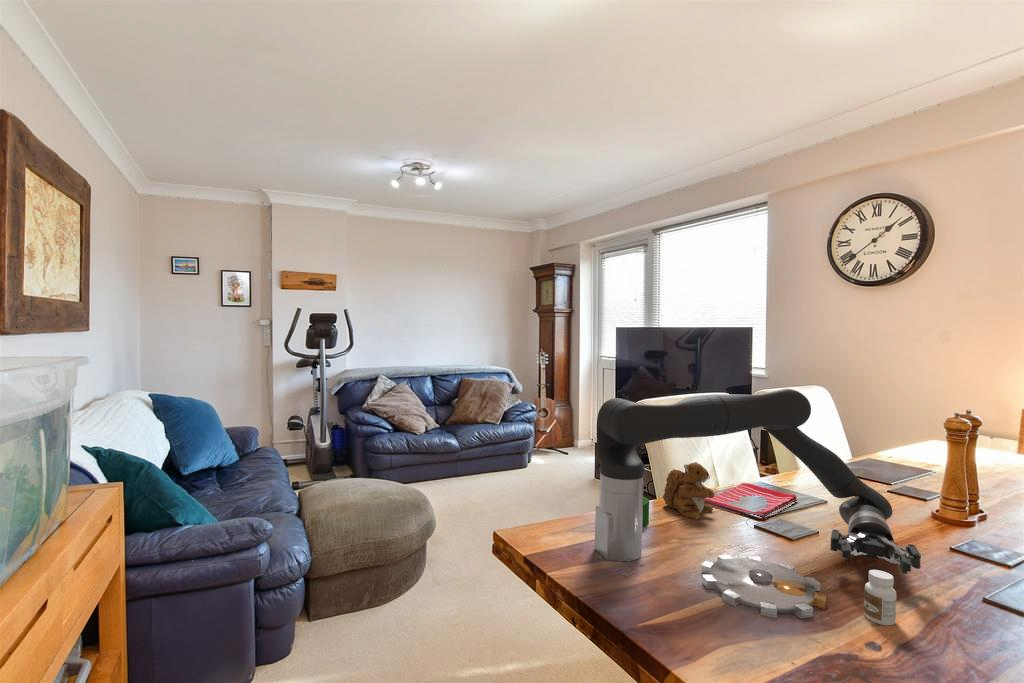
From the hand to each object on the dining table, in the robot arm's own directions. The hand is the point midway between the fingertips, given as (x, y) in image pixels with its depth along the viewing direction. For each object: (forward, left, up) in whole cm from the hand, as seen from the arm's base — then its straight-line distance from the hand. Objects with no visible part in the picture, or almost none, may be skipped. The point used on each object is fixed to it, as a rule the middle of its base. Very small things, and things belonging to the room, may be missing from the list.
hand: (876, 562), depth 95 cm
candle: (-25, +44, -7) cm, 51 cm away
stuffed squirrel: (-7, +48, -7) cm, 49 cm away
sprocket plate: (-18, +8, -6) cm, 21 cm away
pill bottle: (-6, -6, -7) cm, 11 cm away
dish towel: (+15, +48, -7) cm, 51 cm away
